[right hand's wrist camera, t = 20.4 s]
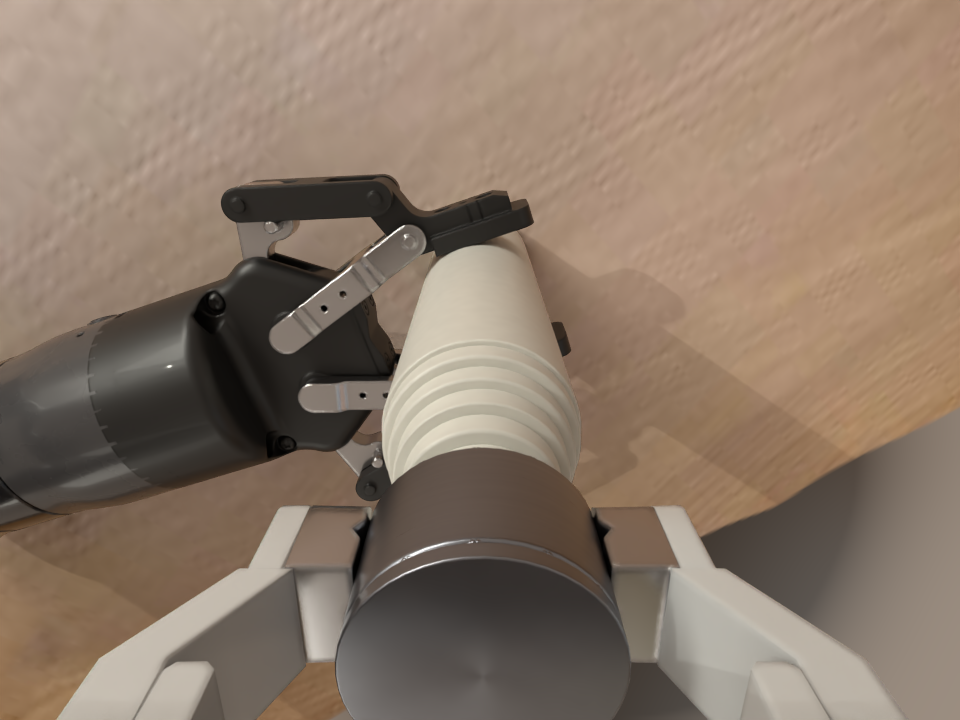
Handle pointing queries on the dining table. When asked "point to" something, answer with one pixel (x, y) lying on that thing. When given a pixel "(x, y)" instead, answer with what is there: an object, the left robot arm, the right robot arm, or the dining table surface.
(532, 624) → the cap
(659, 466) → the dining table surface
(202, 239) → the dining table surface
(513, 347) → the bottle
